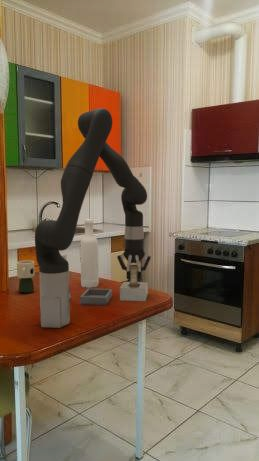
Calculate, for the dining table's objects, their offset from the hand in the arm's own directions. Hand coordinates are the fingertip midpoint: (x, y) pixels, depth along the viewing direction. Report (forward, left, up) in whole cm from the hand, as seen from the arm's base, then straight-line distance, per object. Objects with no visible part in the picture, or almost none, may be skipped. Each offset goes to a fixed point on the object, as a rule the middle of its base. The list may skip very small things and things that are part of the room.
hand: (134, 280), depth 149 cm
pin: (0, 0, -6) cm, 6 cm away
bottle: (+16, +22, -7) cm, 28 cm away
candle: (+10, +34, -7) cm, 36 cm away
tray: (-6, +14, -7) cm, 17 cm away
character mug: (+2, +46, -7) cm, 47 cm away
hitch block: (0, 0, -7) cm, 7 cm away
